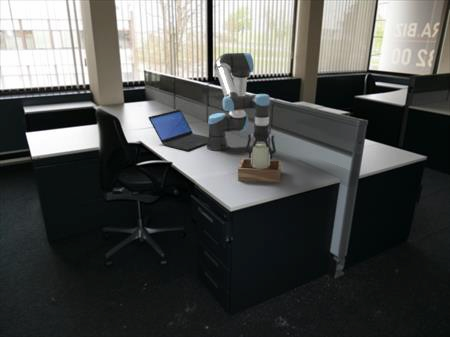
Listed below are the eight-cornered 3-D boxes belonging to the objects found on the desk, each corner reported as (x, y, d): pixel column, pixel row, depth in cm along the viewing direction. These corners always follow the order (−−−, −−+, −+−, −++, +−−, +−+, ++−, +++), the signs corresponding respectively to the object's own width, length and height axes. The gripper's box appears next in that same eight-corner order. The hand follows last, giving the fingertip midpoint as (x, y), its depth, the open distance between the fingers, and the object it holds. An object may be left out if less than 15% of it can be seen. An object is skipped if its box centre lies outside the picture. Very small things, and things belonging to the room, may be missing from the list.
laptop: (187, 152, 235) (186, 124, 228) (150, 142, 256) (147, 116, 249) (218, 140, 260) (217, 115, 252) (181, 132, 281) (180, 108, 274)
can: (251, 163, 196) (251, 142, 192) (267, 162, 197) (268, 142, 192) (252, 169, 188) (253, 147, 184) (269, 168, 188) (270, 147, 184)
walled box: (242, 169, 204) (242, 158, 202) (280, 171, 200) (281, 160, 198) (238, 180, 189) (238, 168, 187) (279, 183, 185) (280, 171, 183)
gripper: (240, 125, 182) (240, 165, 190) (282, 126, 179) (279, 167, 187) (242, 121, 189) (241, 160, 197) (282, 123, 185) (280, 162, 194)
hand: (260, 164), depth 192 cm, fingers closed on can, 9 cm apart
